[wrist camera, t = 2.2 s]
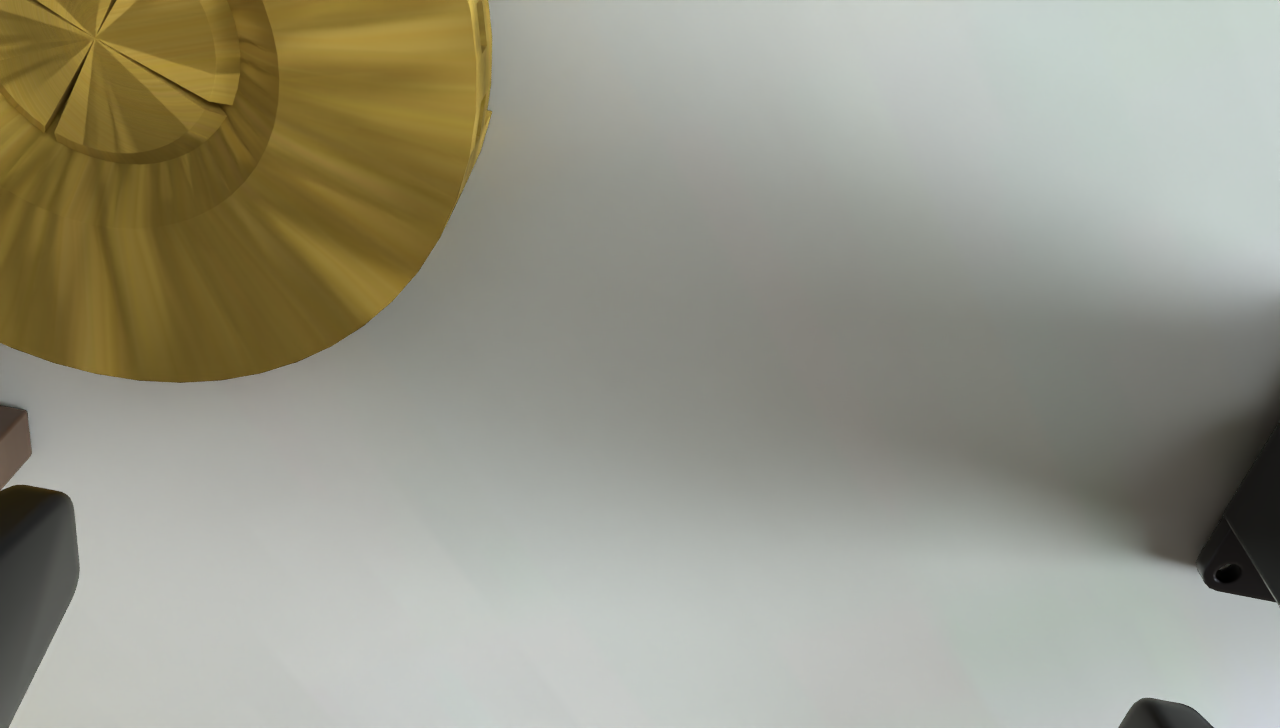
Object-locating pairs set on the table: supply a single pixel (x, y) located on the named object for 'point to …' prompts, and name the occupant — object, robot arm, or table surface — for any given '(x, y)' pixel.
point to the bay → (13, 442)
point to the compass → (226, 173)
